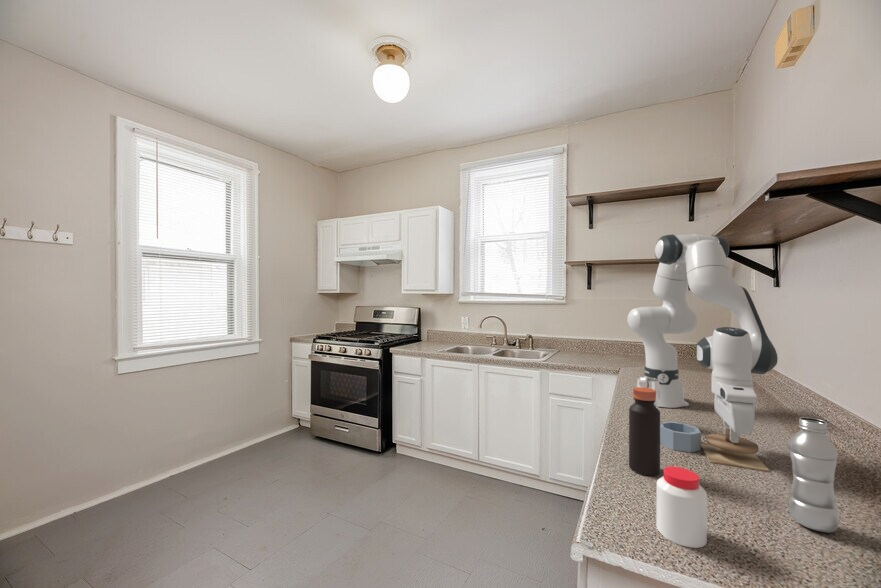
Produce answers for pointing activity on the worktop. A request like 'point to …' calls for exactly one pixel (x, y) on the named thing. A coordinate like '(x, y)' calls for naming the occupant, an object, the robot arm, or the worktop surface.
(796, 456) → the plastic bottle
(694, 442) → the bowl
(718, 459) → the tan flat square piece
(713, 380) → the robot arm
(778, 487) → the worktop surface
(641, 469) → the vinegar
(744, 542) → the worktop surface
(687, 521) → the pill bottle
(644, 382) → the beer glass
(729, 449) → the lid
